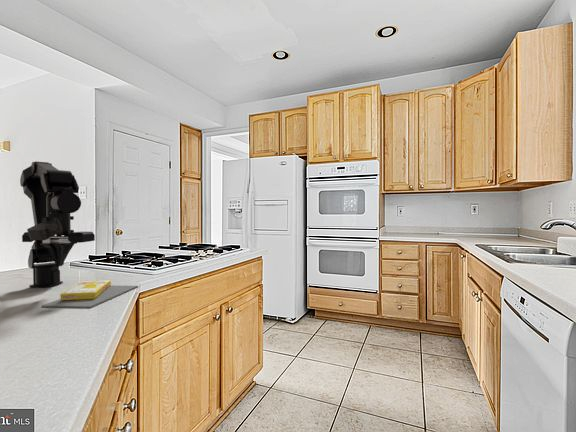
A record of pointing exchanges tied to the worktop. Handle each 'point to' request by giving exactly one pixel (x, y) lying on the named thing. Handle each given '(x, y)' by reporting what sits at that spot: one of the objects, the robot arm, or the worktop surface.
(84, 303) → the mat
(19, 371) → the worktop surface
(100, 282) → the candy box
